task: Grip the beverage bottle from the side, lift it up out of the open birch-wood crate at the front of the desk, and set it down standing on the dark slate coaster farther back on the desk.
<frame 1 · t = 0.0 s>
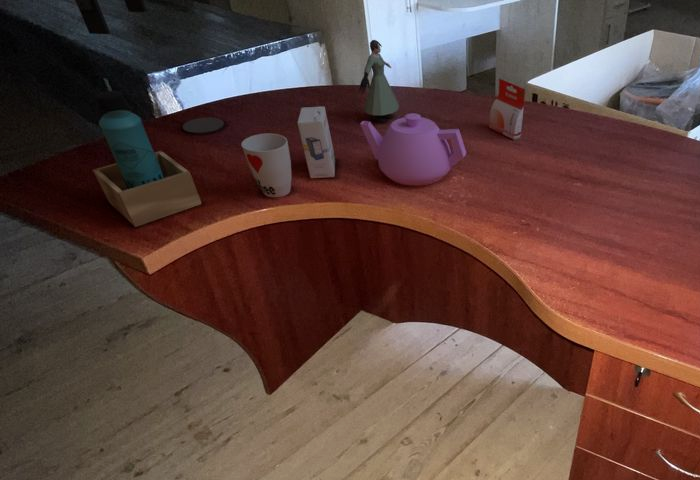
hand: (120, 22, 88), 29 cm above the table, tool pointing down, fingers open, 13 cm apart
teapot: (416, 172, 116), on the table
crate: (155, 203, 102), on the table
character figurine: (381, 120, 135), on the table
beverage bottle: (155, 204, 102), resting in crate
coaster: (203, 126, 128), on the table
ink box: (323, 170, 115), on the table
ink box 2: (505, 133, 133), on the table
cup: (277, 192, 107), on the table
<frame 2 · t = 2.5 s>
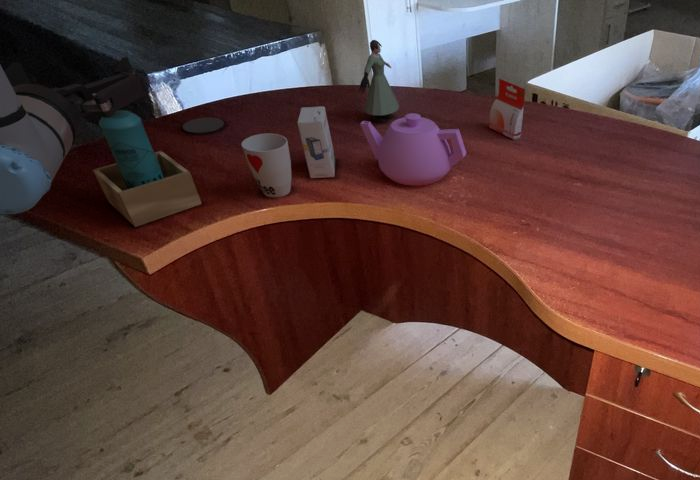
hand: (76, 69, 78), 26 cm above the table, tool horizontal, fingers open, 13 cm apart
nothing on the table moved.
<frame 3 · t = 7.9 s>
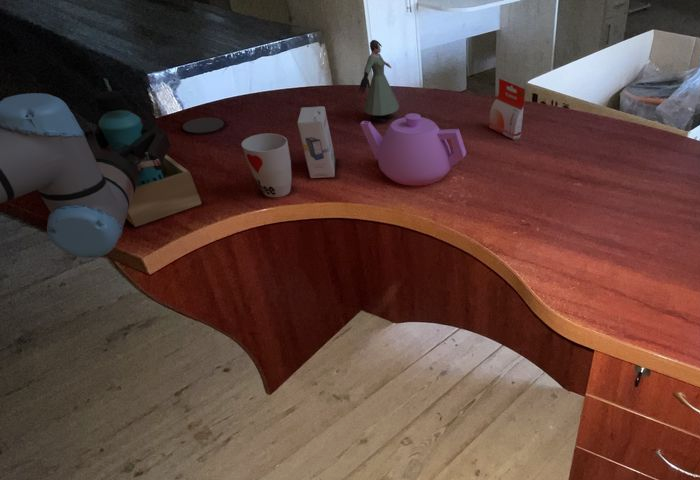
hand: (130, 124, 96), 13 cm above the table, tool horizontal, fingers closed on beverage bottle, 6 cm apart
beverage bottle: (156, 204, 102), resting in crate, touching gripper
everything else where it was.
when the fingers open (13 cm above the table, at t = 20.9 s): beverage bottle stays where it is, resting on coaster.
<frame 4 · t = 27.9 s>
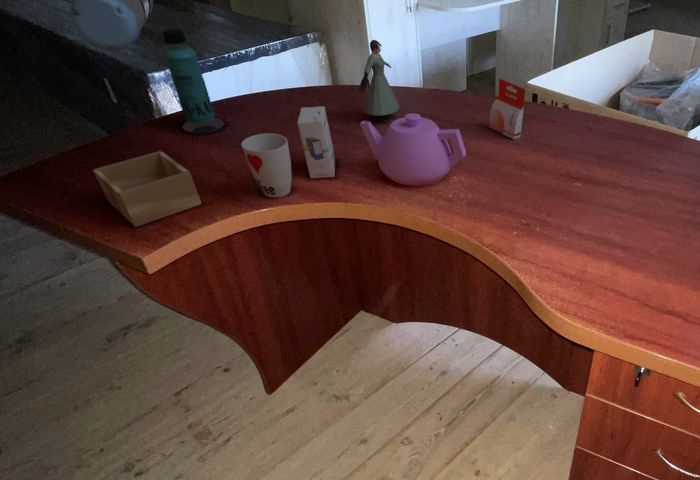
beverage bottle: (203, 125, 127), resting on coaster
everything else where it was.
at the end: beverage bottle 0.0 cm off-centre on the coaster, point 0.2 cm above the coaster's base; beverage bottle tilted 0°; beverage bottle touching coaster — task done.
